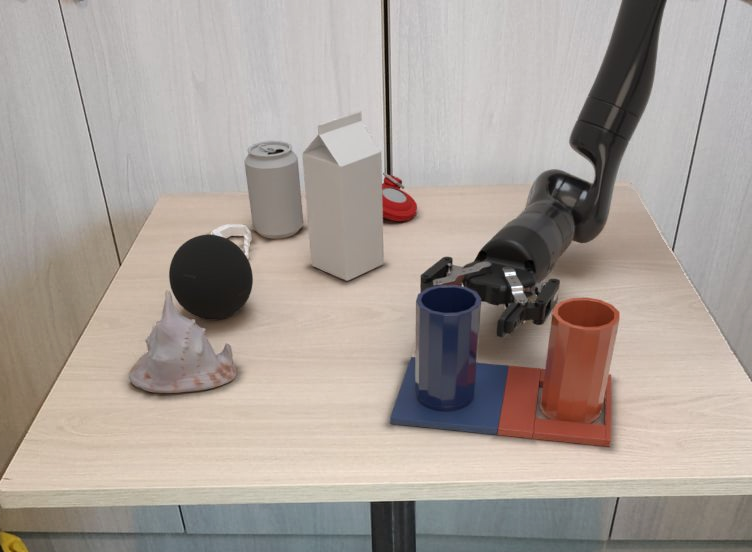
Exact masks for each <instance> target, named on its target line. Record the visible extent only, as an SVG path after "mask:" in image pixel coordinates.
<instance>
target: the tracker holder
mask: <svg viewBox="0 0 752 552" xmlns="http://www.w3.org/2000/svg"><path fill="white" fill-rule="evenodd" d="M382 176H384V178H383V182H382V206H383V219H387V220H391V221H395V222H406V221H407V222H408V221H410V220H412V219H414V217H415V216H416V213H417V210H418V205H417V202H416V201H415V199H414V198H413V196H411V195H410V194H409V193H407V192H406V191H404V189H405V186H404V185H403V180H402V179H401V178H400V177H398V176H397V175H396V176H395V175H393V174H388V173H386V171H385V172H384V171H383V172H382ZM402 189H403V190H402Z"/></svg>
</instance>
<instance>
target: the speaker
mask: <svg viewBox="0 0 752 552" xmlns="http://www.w3.org/2000/svg"><path fill="white" fill-rule="evenodd" d="M244 253H245V252H244V250H242V249H241V247H240V246H238V244H236V243H235V242H233V241H232V240H230V239H229V238H224V237H221V236H217V235H211V234H200V235H196V236H194V237H191V238H189V239H188V240H187V241H185V242H184V243H182V244H181V245H180V246H179V247H178V248H177V250H176V251H175V253H174V255H173V256H172V259H171V261H170V265H169V270H168V273H169V274H168V279H169V280H168V281H169V286H170V289H171V293H172V295H173V297H174V298H175V300H176V301H177V302H178V304H179V305H180V307H182V308H183V309H184V310H185V311H186V312H187V313H189V314H191V315H192V316H194V317H196V318H199V319H202V320H207V321H219V320H224V319H227V318H230V317H231V316H234V315H235V314H237V313H238V312H240V310H241V309H242V308H243V307H244V306H245V305H246V303H247V302H248V300H249V299H250V296H251V294H252V290H253V285H254V284H253V283H254V278H253V277H254V275H253V269H252V266H251V263H250V261H249V259H247V257H246V255H245V254H244Z"/></svg>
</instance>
